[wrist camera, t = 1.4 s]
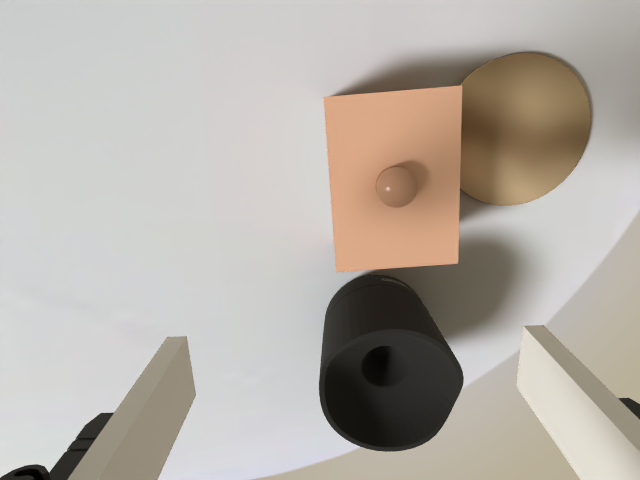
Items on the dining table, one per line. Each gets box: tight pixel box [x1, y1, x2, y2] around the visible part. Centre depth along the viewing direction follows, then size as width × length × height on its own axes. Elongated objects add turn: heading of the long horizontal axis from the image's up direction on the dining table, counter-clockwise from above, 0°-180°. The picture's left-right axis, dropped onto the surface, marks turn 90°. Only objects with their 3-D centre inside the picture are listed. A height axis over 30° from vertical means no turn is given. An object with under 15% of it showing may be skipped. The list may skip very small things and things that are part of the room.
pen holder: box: [319, 275, 464, 451], centre depth 31 cm, size 9×9×10 cm
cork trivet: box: [459, 53, 591, 206], centre depth 31 cm, size 11×11×1 cm
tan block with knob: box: [324, 85, 462, 272], centre depth 28 cm, size 11×8×8 cm
